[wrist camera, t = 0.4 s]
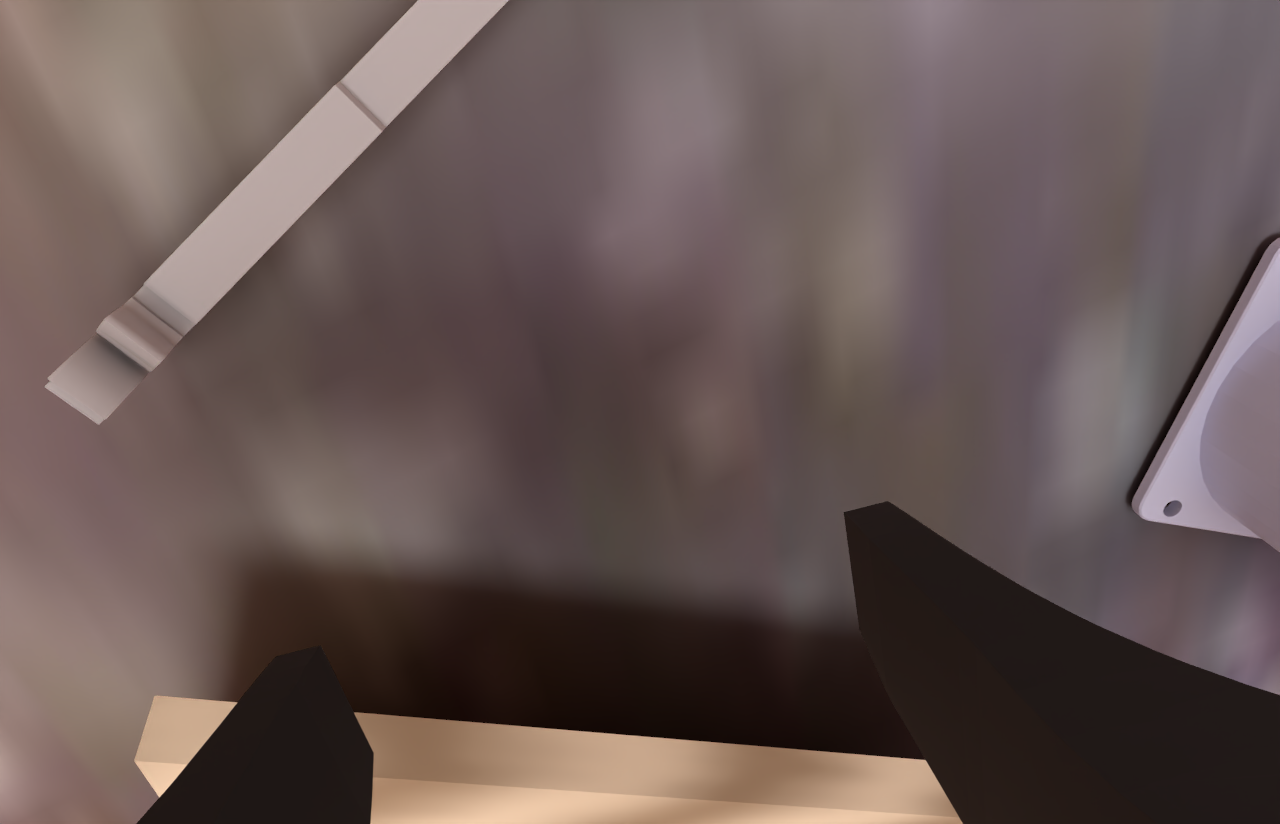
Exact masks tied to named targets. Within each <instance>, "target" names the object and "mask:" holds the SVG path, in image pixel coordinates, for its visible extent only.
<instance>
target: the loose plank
mask: <svg viewBox="0 0 1280 824" xmlns="http://www.w3.org/2000/svg"><path fill="white" fill-rule="evenodd" d="M237 703H238V702H226V701H214V700H202V699H190V698H178V697H166V696H154V699H153V703H152V706H151V709H150V712H149V715H148V719H147V722H146V725H145V728H144V731H143V735H142V738H141V741H140V744H139V747H138V751H137V754H136V757H135V760H134V761H135V763H136V764H137V766H138V767H139V768H140V770H141V771H142V773H143V774H144V776H145V777H146V779H147V780H148V782H149V783H150V784H151V786H152V787H153V789H154V790H155V792H156V793H157V795H158V796H159V798H160V796H161V795H162V794H163V793H164V792H165V791H166V790H167V788H168V787H169V786H170V785H171V784H172V783H173V781H174V780H175V779H176V778H177V777H178V775H179V774H180V773H181V772H182V770H183V769H184V768H185V767H186V766H187V764H188V763H189V762H190V761H191V759H192V758H193V757H194V756H195V755H196V753H197V752H198V751H199V750H200V748H201V747H202V746H203V745H204V744H205V742H206V741H207V740H208V739H209V737H210V736H211V735H212V734H213V732H214V731H215V730H216V729H217V728H218V726H219V725H220V724H221V723H222V721H223V720H224V719H225V718H226V716H227V715H228V714H229V713H230V711H231V710H232V709H233V708H234V706H235V705H236V704H237ZM354 714H355V716H356V718H357V720H358V722H359V724H360V726H361V728H362V730H363V732H364V734H365V736H366V738H367V740H368V742H369V744H370V746H371V748H372V750H373V752H374V762H373V791H372V807H371V822H370V824H963V823H962V821H961V820H960V818H959V816H958V814H957V813H956V811H955V809H954V808H953V806H952V804H951V803H950V801H949V799H948V797H947V796H946V794H945V792H944V791H943V789H942V787H941V785H940V784H939V782H938V780H937V779H936V777H935V775H934V773H933V772H932V770H931V768H930V767H929V765H928V763H927V762H926V760H919V759H907V758H895V757H883V756H871V755H859V754H847V753H835V752H823V751H811V750H799V749H787V748H775V747H763V746H751V745H739V744H728V743H716V742H704V741H692V740H680V739H668V738H656V737H644V736H632V735H620V734H608V733H596V732H584V731H572V730H560V729H548V728H536V727H524V726H513V725H501V724H489V723H477V722H465V721H453V720H441V719H429V718H417V717H405V716H393V715H381V714H369V713H357V712H354Z"/></svg>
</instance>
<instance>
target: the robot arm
mask: <svg viewBox="0 0 1280 824" xmlns="http://www.w3.org/2000/svg"><path fill="white" fill-rule="evenodd" d="M1171 501H1172V502H1171ZM1169 502H1171V503H1170V504H1169V506H1167V507H1166V508H1164V507H1165V506H1166V505H1167V504H1168V503H1169ZM1132 509H1133V510H1134V511H1135V513H1137V514H1138V515H1139V516H1140V517H1141V518H1142V519H1145V520H1147V521H1153V522H1160V523H1166V524H1172V525H1179V526H1185V527H1191V528H1197V529H1204V530H1210V531H1216V532H1223V533H1229V534H1235V535H1241V536H1248V537H1254V538H1260V539H1262V540H1264V541H1265V542H1266V543H1268V544H1269V545H1270V546H1272V547H1273V548H1274V549H1276V550H1277V551H1278V552H1280V238H1277V239H1276V240H1275V241H1274V242H1272V243H1271V244H1270V245H1269V247H1268V248H1267V249H1266V251H1265V253H1264V254H1263V256H1262V258H1261V260H1260V262H1259V264H1258V266H1257V268H1256V269H1255V271H1254V273H1253V275H1252V277H1251V279H1250V281H1249V282H1248V284H1247V286H1246V288H1245V290H1244V292H1243V294H1242V296H1241V297H1240V299H1239V301H1238V303H1237V305H1236V307H1235V309H1234V310H1233V312H1232V314H1231V316H1230V318H1229V320H1228V322H1227V324H1226V325H1225V327H1224V329H1223V331H1222V333H1221V335H1220V337H1219V339H1218V340H1217V342H1216V344H1215V346H1214V348H1213V350H1212V352H1211V353H1210V355H1209V357H1208V359H1207V361H1206V363H1205V365H1204V367H1203V368H1202V370H1201V372H1200V374H1199V376H1198V378H1197V380H1196V381H1195V383H1194V385H1193V387H1192V389H1191V391H1190V393H1189V395H1188V396H1187V398H1186V400H1185V402H1184V404H1183V406H1182V408H1181V409H1180V411H1179V413H1178V415H1177V417H1176V419H1175V421H1174V423H1173V424H1172V426H1171V428H1170V430H1169V432H1168V434H1167V436H1166V437H1165V439H1164V441H1163V443H1162V445H1161V447H1160V449H1159V451H1158V452H1157V454H1156V456H1155V458H1154V460H1153V462H1152V464H1151V465H1150V467H1149V469H1148V471H1147V473H1146V475H1145V477H1144V479H1143V480H1142V482H1141V484H1140V486H1139V488H1138V490H1137V492H1136V493H1135V495H1134V497H1133V501H1132ZM844 517H845V525H846V532H847V540H848V547H849V555H850V562H851V570H852V577H853V585H854V592H855V599H856V607H857V614H858V622H859V629H860V631H861V634H862V636H863V638H864V641H865V643H866V646H867V648H868V650H869V653H870V655H871V657H872V660H873V662H874V665H875V667H876V669H877V671H878V674H879V676H880V678H881V680H882V683H883V685H884V687H885V690H886V692H887V694H888V696H889V698H890V699H891V701H892V703H893V705H894V706H895V708H896V710H897V712H898V713H899V715H900V717H901V719H902V720H903V722H904V724H905V725H906V727H907V729H908V731H909V732H910V734H911V736H912V738H913V739H914V741H915V743H916V744H917V746H918V748H919V750H920V751H921V753H922V755H923V756H924V758H925V760H926V762H927V763H928V765H929V767H930V768H931V770H932V772H933V773H934V775H935V777H936V779H937V780H938V782H939V784H940V785H941V787H942V789H943V791H944V792H945V794H946V796H947V797H948V799H949V801H950V803H951V804H952V806H953V808H954V809H955V811H956V813H957V814H958V816H959V818H960V820H961V821H962V823H963V824H1280V695H1277V694H1274V693H1271V692H1268V691H1265V690H1261V689H1258V688H1255V687H1252V686H1249V685H1246V684H1243V683H1240V682H1238V681H1235V680H1232V679H1229V678H1226V677H1224V676H1221V675H1218V674H1215V673H1212V672H1210V671H1207V670H1204V669H1201V668H1198V667H1196V666H1193V665H1190V664H1187V663H1185V662H1182V661H1180V660H1177V659H1174V658H1172V657H1169V656H1167V655H1164V654H1162V653H1159V652H1157V651H1154V650H1152V649H1150V648H1147V647H1145V646H1143V645H1141V644H1138V643H1136V642H1134V641H1131V640H1129V639H1127V638H1125V637H1122V636H1120V635H1118V634H1115V633H1113V632H1111V631H1109V630H1106V629H1104V628H1102V627H1100V626H1098V625H1095V624H1093V623H1091V622H1089V621H1087V620H1085V619H1083V618H1081V617H1079V616H1077V615H1075V614H1073V613H1071V612H1069V611H1067V610H1065V609H1063V608H1061V607H1059V606H1058V605H1056V604H1054V603H1052V602H1050V601H1048V600H1046V599H1044V598H1042V597H1040V596H1039V595H1037V594H1035V593H1033V592H1031V591H1029V590H1027V589H1026V588H1024V587H1022V586H1020V585H1019V584H1017V583H1015V582H1014V581H1012V580H1010V579H1009V578H1007V577H1005V576H1004V575H1002V574H1000V573H999V572H997V571H995V570H994V569H992V568H990V567H989V566H987V565H985V564H984V563H982V562H980V561H979V560H977V559H975V558H974V557H972V556H971V555H969V554H968V553H966V552H964V551H963V550H961V549H960V548H958V547H957V546H955V545H954V544H952V543H951V542H949V541H947V540H946V539H944V538H943V537H941V536H940V535H938V534H937V533H935V532H934V531H932V530H931V529H929V528H928V527H926V526H925V525H923V524H922V523H920V522H919V521H917V520H916V519H914V518H913V517H911V516H910V515H908V514H907V513H905V512H904V511H902V510H901V509H899V508H898V507H896V506H894V505H893V504H891V503H890V502H888V501H887V502H883V503H879V504H875V505H871V506H867V507H863V508H859V509H855V510H851V511H847V512H844ZM373 762H374V752H373V750H372V748H371V746H370V744H369V742H368V740H367V738H366V736H365V734H364V732H363V730H362V728H361V726H360V724H359V722H358V720H357V718H356V716H355V714H354V712H353V710H352V708H351V706H350V704H349V702H348V700H347V698H346V696H345V694H344V692H343V690H342V688H341V686H340V684H339V682H338V679H337V677H336V675H335V673H334V671H333V669H332V667H331V665H330V663H329V661H328V659H327V657H326V655H325V653H324V651H323V649H322V647H321V645H320V646H316V647H312V648H308V649H304V650H300V651H296V652H292V653H288V654H284V655H280V656H277V657H275V659H274V660H273V661H272V662H271V663H270V664H269V665H268V666H267V667H266V669H265V670H264V671H263V672H262V673H261V674H260V676H259V677H258V678H257V679H256V680H255V682H254V683H253V684H252V685H251V686H250V688H249V689H248V690H247V691H246V693H245V694H244V695H243V696H242V698H241V699H240V700H239V701H238V703H237V704H236V705H235V706H234V708H233V709H232V710H231V711H230V713H229V714H228V715H227V716H226V718H225V719H224V720H223V721H222V723H221V724H220V725H219V726H218V728H217V729H216V730H215V731H214V732H213V734H212V735H211V736H210V737H209V739H208V740H207V741H206V742H205V744H204V745H203V746H202V747H201V748H200V750H199V751H198V752H197V753H196V755H195V756H194V757H193V758H192V759H191V761H190V762H189V763H188V764H187V766H186V767H185V768H184V769H183V770H182V772H181V773H180V774H179V775H178V777H177V778H176V779H175V780H174V781H173V783H172V784H171V785H170V786H169V787H168V788H167V790H166V791H165V792H164V793H163V794H162V795H161V796H160V798H159V799H158V800H157V801H156V802H155V803H154V804H153V806H152V807H151V808H150V809H149V810H148V811H147V812H146V813H145V815H144V816H143V817H142V818H141V819H140V820H139V821H138V823H137V824H370V822H371V807H372V791H373Z"/></svg>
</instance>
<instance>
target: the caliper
mask: <svg viewBox="0 0 1280 824" xmlns="http://www.w3.org/2000/svg"><path fill="white" fill-rule="evenodd" d="M507 2H508V0H418V1H417V2H416V3H415V4H414V5H413V6H412V7H411V8H410V9H409V10H408V11H407V12H406V13H405V14H404V15H403V16H402V17H401V19H400V20H399V21H398V22H397V23H396V24H395V25H394V26H393V27H392V28H391V29H390V30H389V31H388V32H387V33H386V34H385V35H384V36H383V37H382V38H381V39H380V40H379V41H378V42H377V43H376V45H375V46H374V47H373V48H372V49H371V50H370V51H369V52H368V53H367V54H366V55H365V56H364V57H363V58H362V59H361V60H360V61H359V62H358V63H357V64H356V65H355V66H354V67H353V68H352V69H351V71H350V72H349V73H348V74H347V75H346V76H345V77H344V78H343V79H342V80H341V81H340V82H338V83H337V84H335V85H334V86H333V87H332V88H331V89H330V90H329V92H328V93H327V94H326V95H325V96H324V97H323V98H322V99H321V100H320V101H319V102H318V103H317V104H316V105H315V106H314V107H313V108H312V109H311V110H310V111H309V112H308V113H307V114H306V115H305V116H304V117H303V118H302V120H301V121H300V122H299V123H298V124H297V125H296V126H295V127H294V128H293V129H292V130H291V131H290V132H289V133H288V134H287V135H286V136H285V137H284V138H283V139H282V140H281V141H280V142H279V143H278V144H277V145H276V147H275V148H274V149H273V150H272V151H271V152H270V153H269V154H268V155H267V156H266V157H265V158H264V159H263V160H262V161H261V162H260V163H259V164H258V165H257V166H256V167H255V168H254V169H253V170H252V171H251V172H250V174H249V175H248V176H247V177H246V178H245V179H244V180H243V181H242V182H241V183H240V184H239V185H238V186H237V187H236V188H235V189H234V190H233V191H232V192H231V193H230V194H229V195H228V196H227V197H226V198H225V199H224V200H223V202H222V203H221V204H220V205H219V206H218V207H217V208H216V209H215V210H214V211H213V212H212V213H211V214H210V215H209V216H208V217H207V218H206V219H205V220H204V221H203V222H202V223H201V224H200V225H199V226H198V227H197V229H196V230H195V231H194V232H193V233H192V234H191V235H190V236H189V237H188V238H187V239H186V240H185V241H184V242H183V243H182V244H181V245H180V246H179V247H178V248H177V249H176V250H175V251H174V252H173V253H172V254H171V255H170V257H169V258H168V259H167V260H166V261H165V262H164V263H163V264H162V265H161V266H160V267H159V268H158V269H157V270H156V271H155V272H154V273H153V274H152V275H151V276H150V277H149V278H148V279H147V281H146V282H145V283H144V286H143V287H142V288H141V289H140V290H139V291H138V292H137V293H136V294H135V295H134V296H133V297H131V298H130V299H129V300H128V301H127V302H126V303H125V304H124V305H123V306H122V307H119V308H118V309H116V310H115V311H114V312H112V313H111V314H110V315H108V316H107V317H106V318H105V319H104V320H103V321H102V323H101V324H100V325H99V327H98V329H97V330H96V332H97V334H96V335H94V336H93V337H92V338H91V339H89V340H88V341H87V342H86V343H85V344H84V345H82V346H81V347H80V348H79V349H78V350H77V351H76V352H75V353H74V354H72V355H71V356H70V357H69V358H68V359H67V360H66V361H65V362H64V363H63V364H62V365H61V366H60V367H58V368H57V369H56V370H55V371H54V372H53V373H52V374H51V375H50V376H49V377H48V378H47V379H48V380H50V382H49V383H48V384H47V385H46V386H45V388H47V389H48V390H50V391H51V392H52V393H54V394H55V395H57V396H58V397H60V398H61V399H62V400H64V401H65V402H67V403H68V404H70V405H71V406H72V407H74V408H75V409H77V410H78V411H80V412H81V413H82V414H84V415H85V416H87V417H88V418H89V419H91V420H92V421H94V422H95V423H97V424H98V425H99V424H100V423H101V422H102V421H103V420H104V419H105V420H106V419H107V418H108V416H109V415H110V414H111V413H112V412H113V411H114V410H115V409H116V408H117V407H118V406H119V405H120V404H121V403H122V402H123V401H124V399H125V398H126V397H127V396H128V395H129V394H130V393H131V392H132V391H133V390H134V389H135V388H136V386H137V385H138V384H139V383H140V382H141V381H142V380H143V379H144V378H145V376H146V375H147V374H148V373H149V372H151V371H152V370H153V369H154V368H156V367H157V366H158V365H159V364H160V363H161V362H162V361H163V360H164V359H165V357H166V356H167V355H168V354H169V353H170V352H171V350H172V349H173V348H174V346H175V345H176V344H177V343H178V342H179V341H180V340H181V339H182V338H183V337H184V336H185V335H186V333H187V332H188V331H189V330H190V329H191V328H192V327H193V326H194V325H196V324H197V323H198V322H199V321H200V320H201V319H202V318H203V317H204V316H205V315H206V313H207V312H208V311H209V310H210V309H211V308H212V307H213V306H214V305H215V304H216V303H217V302H218V301H219V300H220V299H221V298H222V297H223V296H224V295H225V294H226V293H227V292H228V291H229V290H230V289H231V288H232V287H233V286H234V285H235V283H236V282H237V281H238V280H239V279H240V278H241V277H242V276H243V275H244V274H245V273H246V272H247V271H248V270H249V269H250V268H251V267H252V266H253V265H254V264H255V263H256V262H257V261H258V260H259V259H260V258H261V257H262V256H263V255H264V253H265V252H266V251H267V250H268V249H269V248H270V247H271V246H272V245H273V244H274V243H275V242H276V241H277V240H278V239H279V238H280V237H281V236H282V235H283V234H284V233H285V232H286V231H287V230H288V229H289V228H290V227H291V226H292V225H293V223H294V222H295V221H296V220H297V219H298V218H299V217H300V216H301V215H302V214H303V213H304V212H305V211H306V210H307V209H308V208H309V207H310V206H311V205H312V204H313V203H314V202H315V201H316V200H317V199H318V198H319V197H320V196H321V195H322V193H323V192H324V191H325V190H326V189H327V188H328V187H329V186H330V185H331V184H332V183H333V182H334V181H335V180H336V179H337V178H338V177H339V176H340V175H341V174H342V173H343V172H344V171H345V170H346V169H347V168H348V167H349V166H350V165H351V163H352V162H353V161H354V160H355V159H356V158H357V157H358V156H359V155H360V154H361V153H362V152H363V151H364V150H365V149H366V148H367V147H368V146H369V145H370V144H371V143H372V142H373V141H374V140H375V139H376V138H377V137H378V136H379V134H380V133H381V132H382V131H383V130H384V129H385V128H386V127H387V126H388V125H389V124H390V123H391V121H392V120H393V119H394V118H395V117H396V116H397V115H398V114H399V113H400V112H401V111H402V110H403V109H404V108H405V107H406V106H407V105H408V104H409V103H410V102H411V101H412V100H413V99H414V98H415V97H416V96H417V95H418V94H419V93H420V91H421V90H422V89H423V88H424V87H425V86H426V85H427V84H428V83H429V82H430V81H431V80H432V79H433V78H434V77H435V76H436V75H437V74H438V73H439V72H440V71H441V70H442V69H443V68H444V67H445V66H446V65H447V64H448V63H449V61H450V60H451V59H452V58H453V57H454V56H455V55H456V54H457V53H458V52H459V51H460V50H461V49H462V48H463V47H464V46H465V45H466V44H467V43H468V42H469V41H470V40H471V39H472V38H473V37H474V36H475V35H476V34H477V33H478V31H479V30H480V29H481V28H482V27H483V26H484V25H485V24H486V23H487V22H488V21H489V20H490V19H491V18H492V17H493V16H494V15H495V14H496V13H497V12H498V11H499V10H500V9H501V8H502V7H503V6H504V5H505V4H506V3H507Z"/></svg>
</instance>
